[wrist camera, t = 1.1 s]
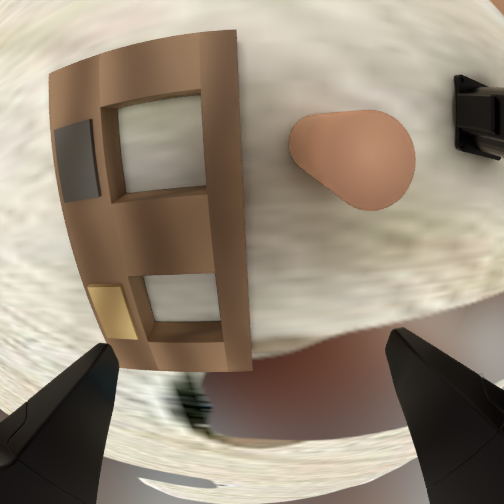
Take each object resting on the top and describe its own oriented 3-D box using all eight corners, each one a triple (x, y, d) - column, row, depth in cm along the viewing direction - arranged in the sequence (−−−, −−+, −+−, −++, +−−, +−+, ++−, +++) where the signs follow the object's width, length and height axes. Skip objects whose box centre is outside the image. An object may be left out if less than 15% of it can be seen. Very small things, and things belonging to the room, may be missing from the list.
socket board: (236, 41, 14) (236, 27, 11) (251, 349, 24) (252, 374, 21) (68, 76, 13) (45, 73, 11) (125, 349, 24) (117, 370, 21)
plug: (348, 116, 16) (417, 117, 9) (346, 174, 18) (410, 210, 10) (288, 113, 16) (325, 105, 9) (289, 174, 18) (323, 211, 10)
